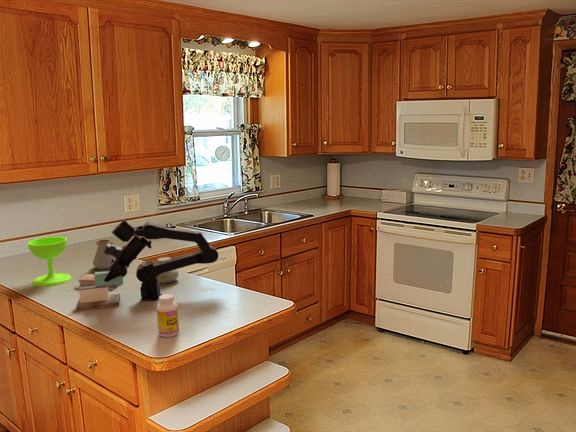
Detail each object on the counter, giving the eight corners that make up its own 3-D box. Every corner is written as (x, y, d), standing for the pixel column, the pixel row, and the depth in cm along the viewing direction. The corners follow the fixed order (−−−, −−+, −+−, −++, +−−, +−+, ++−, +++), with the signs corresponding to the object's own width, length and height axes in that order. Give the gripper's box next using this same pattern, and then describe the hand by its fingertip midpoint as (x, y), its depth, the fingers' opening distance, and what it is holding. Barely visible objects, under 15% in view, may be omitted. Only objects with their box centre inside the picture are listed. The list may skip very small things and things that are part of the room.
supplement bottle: (166, 339, 175) (163, 301, 172) (154, 334, 179) (151, 297, 177) (183, 332, 180) (180, 295, 177) (171, 328, 184) (168, 291, 182)
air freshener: (181, 279, 238) (180, 256, 236) (173, 285, 230) (171, 262, 228) (159, 277, 240) (157, 255, 239) (149, 283, 233) (147, 261, 231)
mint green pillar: (123, 281, 212) (122, 269, 211) (123, 283, 210) (121, 271, 209) (96, 284, 210) (94, 272, 209) (95, 286, 207) (94, 274, 206)
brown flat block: (120, 297, 216) (119, 293, 216) (119, 305, 207) (118, 302, 207) (80, 301, 213) (79, 298, 213) (76, 310, 203) (76, 306, 203)
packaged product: (123, 273, 234) (110, 280, 224) (124, 284, 235) (111, 291, 225) (86, 271, 238) (72, 278, 228) (87, 282, 239) (73, 289, 229)
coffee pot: (90, 267, 261) (87, 236, 258) (114, 262, 267) (112, 232, 264) (102, 277, 243) (98, 245, 240) (127, 272, 249) (124, 240, 246)
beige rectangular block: (108, 297, 212) (107, 284, 211) (108, 300, 209) (106, 286, 208) (81, 300, 209) (79, 287, 208) (80, 303, 207) (78, 289, 206)
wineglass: (54, 273, 252) (49, 235, 249) (79, 277, 245) (75, 238, 242) (24, 283, 238) (18, 243, 234) (50, 288, 231) (45, 246, 227)
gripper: (117, 231, 216) (90, 260, 215) (114, 241, 198) (85, 274, 198) (139, 248, 219) (113, 278, 219) (138, 260, 201) (110, 292, 201)
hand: (105, 280), depth 209 cm, fingers closed on mint green pillar, 2 cm apart
